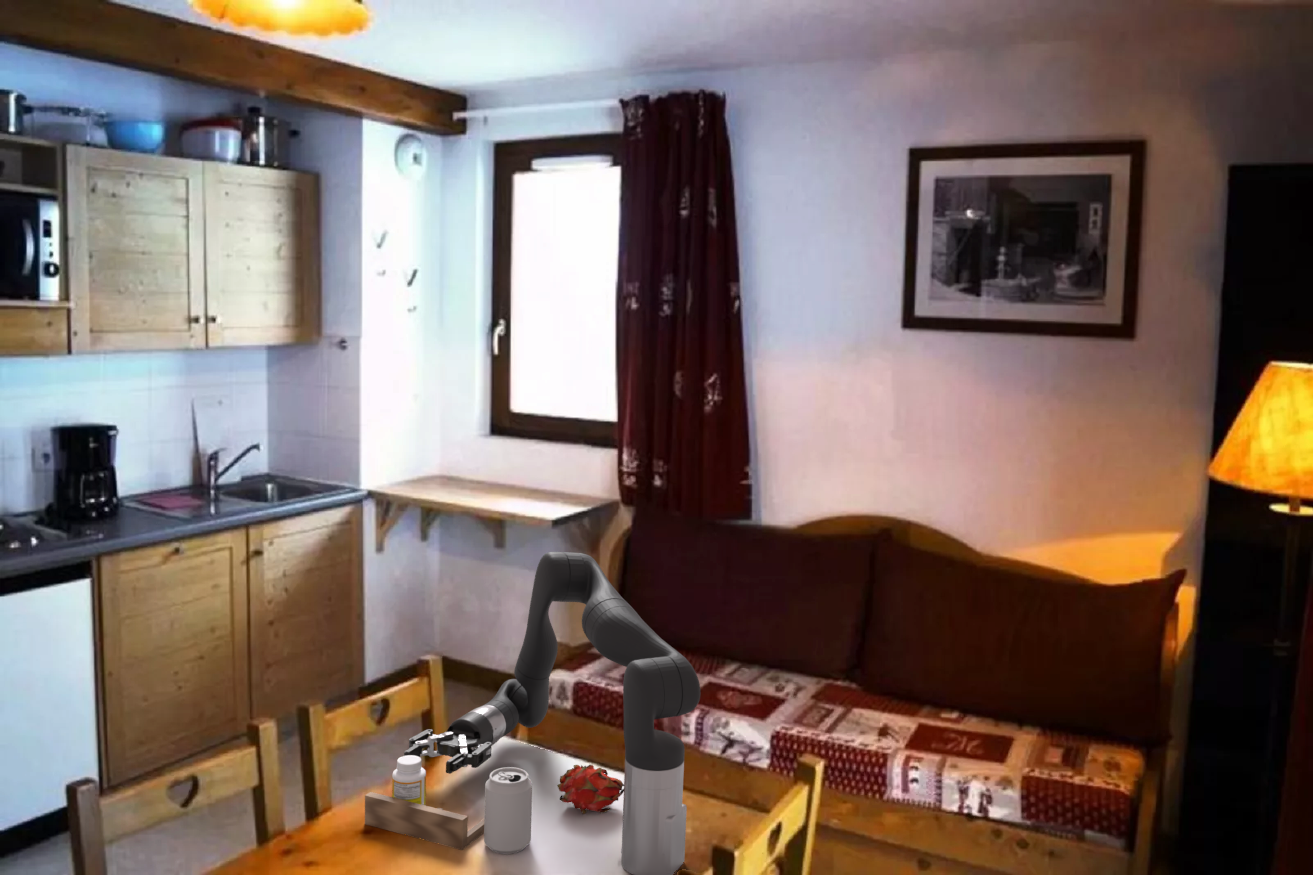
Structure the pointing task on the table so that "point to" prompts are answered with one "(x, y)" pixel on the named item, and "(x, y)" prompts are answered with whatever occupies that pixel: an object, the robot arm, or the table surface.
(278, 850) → the table surface
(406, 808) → the l-shaped bracket
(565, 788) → the dragon fruit
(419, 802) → the supplement bottle
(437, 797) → the table surface
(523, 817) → the can
